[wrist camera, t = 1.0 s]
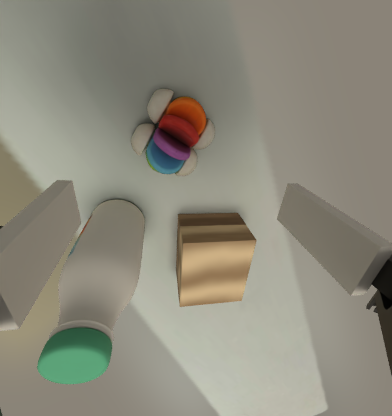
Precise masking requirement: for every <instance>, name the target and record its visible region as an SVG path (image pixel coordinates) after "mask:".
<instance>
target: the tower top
mask: <svg viewBox="0 0 392 416" xmlns="http://www.w3.org/2000/svg"><path fill="white" fill-rule="evenodd" d="M255 244H256V239H255V237H254V236H253V234H252V233H251V232H250V230H249V229H248V227H247V226H246V225H213V226H180V241H179V265H178V294H179V303H180V307H183V306H193V305H203V304H213V303H223V302H233V301H242V297H243V293H244V289H245V285H246V281H247V277H248V273H249V269H250V265H251V261H252V257H253V253H254V248H255Z"/></svg>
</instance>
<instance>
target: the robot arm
mask: <svg viewBox="0 0 392 416" xmlns="http://www.w3.org/2000/svg"><path fill="white" fill-rule="evenodd" d="M277 220H278V221H279V222H280V223H281V224H282V225H283V226H284V227H285V228H286V229H287V230H288V231H289V232H290V233H291V234H292V235H293V236H294V237H295V238H296V239H297V240H298V241H299V242H300V243H301V245H302V246H303V247H304V248H305V249H307V251H308V252H309V253H310V254H311V255H312V256H313V257H314V258H315V259H316V260H317V261H318V262H319V263H320V264H321V265H322V266H323V267H324V269H326V270H327V272H328V273H329V274H330V275H331V276H332V277H333V278H334V279H335V280H336V281H337V282H338V283H339V284H340V285H341V286H342V287H343V288H344V289H345V290H346V291H347V292H348V293H349V294H350V295H351V296H353V295H362V294H365V293H366V292H367V290H368V289H369V287H370V286H371V285H373V286H374V287H375V288H377V289H378V290H377V292H376V293H375V294H374V296H373V297H372V299H371V300H370V301H369V303H368V304H367V309H370V308H371V307H372V306H376V308H375V310H374V312H376V313H378V316H379V321H380V325H381V330H382V334H383V339H384V343H385V347H386V352H387V357H388V361H389V366H390V370H391V375H392V243H391V242H389V241H388V240H386V239H385V238H383V237H381V236H380V235H378V234H376V233H375V232H373V231H372V230H370V229H369V228H367V227H365V226H364V225H362V224H361V223H359V222H358V221H356V220H355V219H353V218H351V217H350V216H348V215H347V214H345V213H343V212H342V211H340V210H339V209H337V208H336V207H334V206H332V205H331V204H329V203H328V202H326V201H325V200H323V199H321V198H320V197H318V196H317V195H315V194H313V193H312V192H310V191H309V190H307V189H306V188H304V187H302V186H301V185H299V184H288V185H287V188H286V191H285V194H284V197H283V201H282V204H281V207H280V211H279V214H278V217H277ZM80 224H81V219H80V214H79V210H78V205H77V200H76V196H75V191H74V186H73V181H67V180H57V181H56V182H54V183H53V184H52V185H51V186H50V187H49V188H47V189H46V190H45V191H44V192H43V193H42V194H41V195H39V196H38V197H37V198H36V199H35V200H34V201H32V202H31V203H30V204H29V205H28V206H27V207H25V208H24V209H23V210H22V211H21V212H20V213H18V214H17V215H16V216H15V217H14V218H13V219H12V220H10V221H9V222H8V223H7V224H6V225H5V226H0V331H3V330H14V329H19V328H20V327H21V325H22V323H23V321H24V320H25V318H26V316H27V315H28V313H29V311H30V310H31V308H32V306H33V304H34V303H35V301H36V299H37V298H38V296H39V294H40V292H41V290H42V289H43V287H44V286H45V284H46V282H47V281H48V279H49V277H50V275H51V274H52V272H53V270H54V269H55V267H56V265H57V264H58V262H59V260H60V258H61V257H62V255H63V253H64V252H65V250H66V248H67V246H68V245H69V243H70V241H71V240H72V238H73V236H74V235H75V233H76V231H77V230H78V228H79V226H80ZM0 416H2V413H1V409H0Z"/></svg>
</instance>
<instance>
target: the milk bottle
mask: <svg viewBox="0 0 392 416" xmlns="http://www.w3.org/2000/svg"><path fill="white" fill-rule="evenodd" d="M144 229H145V220H144V216H143V214H142V212H141V211H140V210H139V209H138V208H137V207H136V206H135V205H133V204H132V203H130V202H127V201H124V200H109V201H106V202H103V203H101V204H100V205H98V206H97V207H96V208H95V210H94V211H93V213H92V214H91V216H90V218H89V219H88V221H87V223H86V225H85V227H84V228H83V230H82V232H81V234H80V235H79V237H78V239H77V241H76V243H75V245H74V246H73V248H72V250H71V252H70V254H69V256H68V258H67V260H66V262H65V264H64V266H63V269H62V272H61V275H60V280H59V289H58V291H59V302H60V315H59V322H58V326H57V327H56V328H55V329H54V330H53V331H52V332H51V333H50V335H49V340H48V341H47V343H46V345H45V347H44V349H43V351H42V353H41V356H40V358H39V361H38V366H37V368H38V371H39V373H40V374H41V375H42V376H43V377H44V378H45V379H47V380H49V381H52V382H55V383H61V384H78V383H84V382H88V381H91V380H93V379H95V378H97V377H99V376H100V375H102V374H103V373H104V372H105V371H106V369H107V367H108V365H109V362H110V357H111V352H112V343H113V340H114V335H113V332H112V330H113V327H114V325H115V323H116V321H117V319H118V317H119V315H120V314H121V312H122V310H123V309H124V308H125V307H126V305H127V304H128V302H129V301H130V299H131V298H132V296H133V294H134V291H135V289H136V286H137V283H138V279H139V273H140V267H141V258H142V249H143V239H144Z"/></svg>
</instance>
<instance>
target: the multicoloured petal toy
mask: <svg viewBox="0 0 392 416" xmlns="http://www.w3.org/2000/svg"><path fill="white" fill-rule="evenodd" d="M173 94H174V92H173V91H172V90H169V89H158V90H156V91H155V92H154V94H153V95H152V97H151V99H150V101H149V103H148V105H147V111H148V115H149V117H150V119H151V120H152V121H153V122H154V123H155V124H157V123H158V122H159V125H158V126H159V127H158V128H157V129H156V131H155V125H153V124H148V123H145V124H141V125H139V126H138V127H137V128H136V130H135V132H134V134H133V136H132V138H131V144H132V147H133V149H134V151H135V152H136V153H137V154H138V155H141V154H142V153H143V151H144V149H145V148H146V146H147V150H146V158H147V161H148V164H149V165H150V167H151V168H152V169H153V170H155V171H157V172H160V173H163V174H172V173H175V174H176V175H179V176H186V175H188V174H190V173H192V172H193V170H194V169H195V167H196V165H197V155H196V152H195V151H194V149H204V148H206V147H208V146H209V145H210V143H211V142H212V140H213V138H214V136H215V128H214V125H213V123H212V122H211V120H210V119H206V115H205V112H204V110H203V108H202V106H201V105H200V104H199V102H197V101H196V100H195V99H193V98H191V97H179V98H176V99H174V100H173V101H172V103H170V101H171V98H172V96H173Z"/></svg>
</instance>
